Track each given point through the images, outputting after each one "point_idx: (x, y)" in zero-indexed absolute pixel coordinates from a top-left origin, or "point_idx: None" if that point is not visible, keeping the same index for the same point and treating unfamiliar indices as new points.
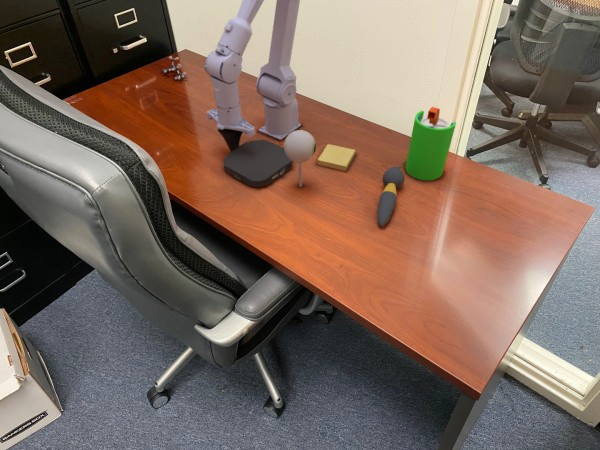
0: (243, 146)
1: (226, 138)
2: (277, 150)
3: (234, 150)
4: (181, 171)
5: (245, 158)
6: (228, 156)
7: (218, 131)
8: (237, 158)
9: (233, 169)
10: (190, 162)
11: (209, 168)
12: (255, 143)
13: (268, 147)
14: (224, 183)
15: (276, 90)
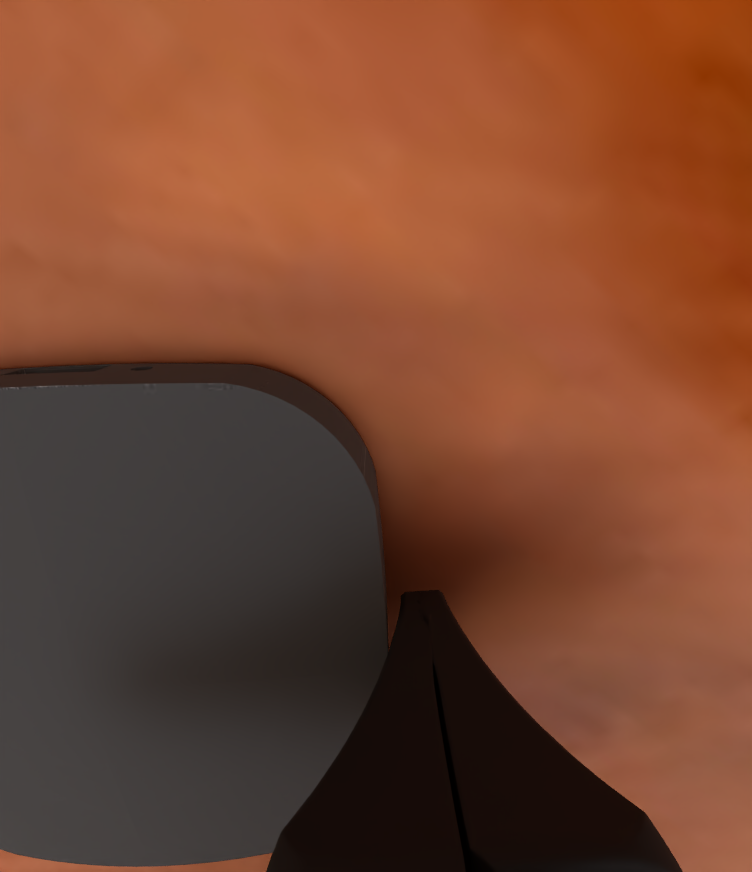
0: (351, 708)
1: (458, 731)
2: (74, 827)
3: (367, 621)
4: (689, 10)
5: (146, 604)
6: (338, 519)
7: (634, 817)
8: (221, 555)
9: (68, 394)
10: (710, 224)
11: (453, 299)
12: (309, 788)
13: (162, 815)
14: (130, 236)
15: None
